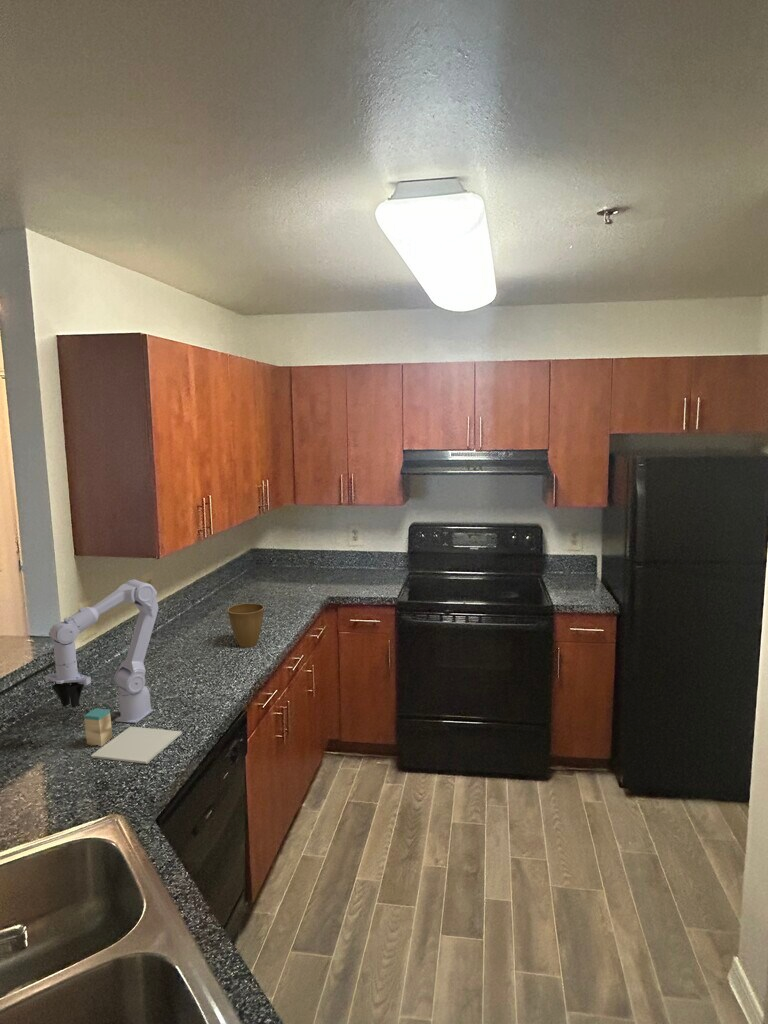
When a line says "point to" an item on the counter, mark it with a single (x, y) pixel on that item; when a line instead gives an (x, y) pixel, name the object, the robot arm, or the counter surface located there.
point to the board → (137, 745)
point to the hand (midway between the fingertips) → (70, 705)
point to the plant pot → (246, 623)
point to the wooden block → (98, 727)
